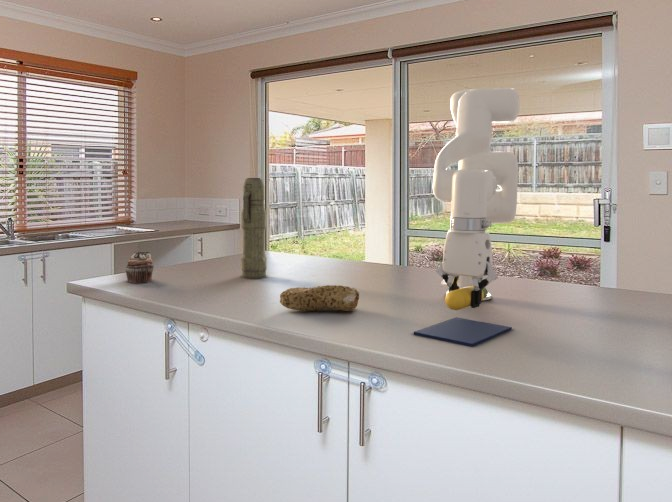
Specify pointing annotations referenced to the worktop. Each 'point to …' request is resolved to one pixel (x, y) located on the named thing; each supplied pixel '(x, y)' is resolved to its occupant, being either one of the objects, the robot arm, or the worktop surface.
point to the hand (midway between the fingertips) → (464, 304)
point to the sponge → (320, 298)
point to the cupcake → (139, 268)
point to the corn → (461, 298)
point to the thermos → (253, 229)
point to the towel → (463, 331)
